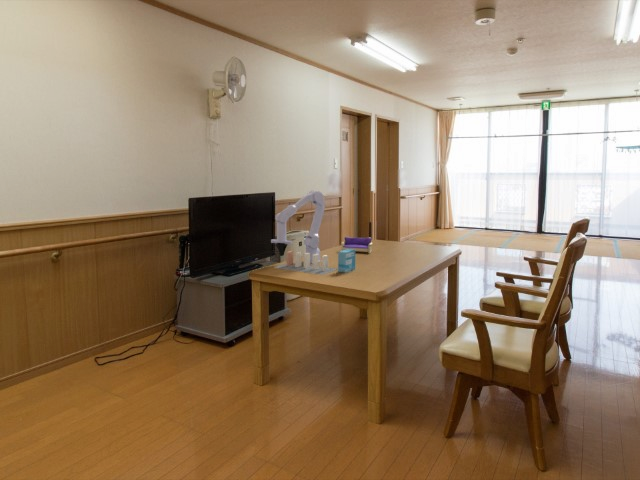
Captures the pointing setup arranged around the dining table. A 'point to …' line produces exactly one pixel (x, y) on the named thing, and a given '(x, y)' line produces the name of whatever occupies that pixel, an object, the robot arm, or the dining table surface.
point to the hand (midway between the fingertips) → (281, 255)
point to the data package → (346, 260)
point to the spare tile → (290, 258)
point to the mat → (302, 269)
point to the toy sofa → (357, 244)
